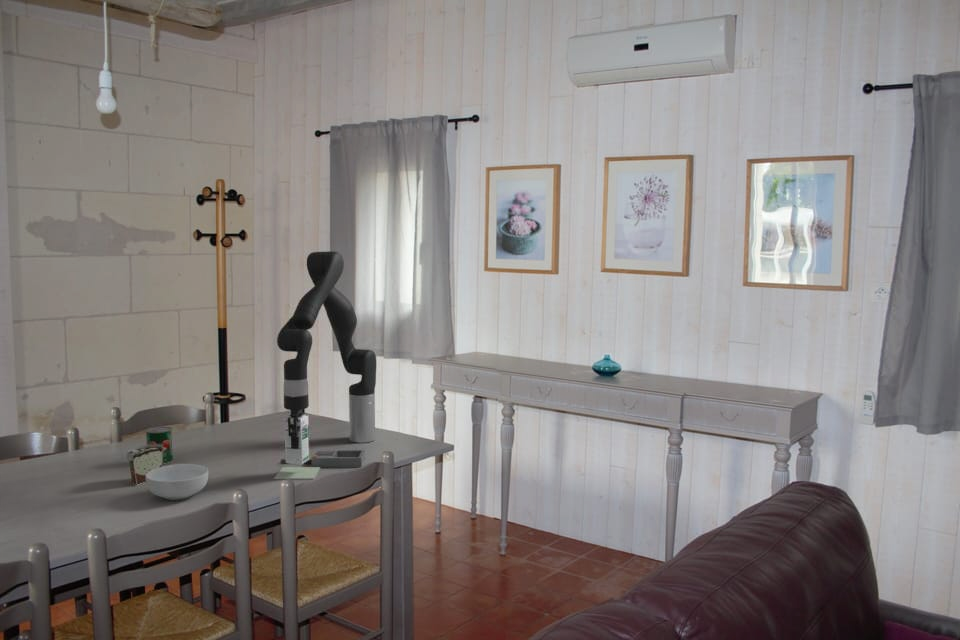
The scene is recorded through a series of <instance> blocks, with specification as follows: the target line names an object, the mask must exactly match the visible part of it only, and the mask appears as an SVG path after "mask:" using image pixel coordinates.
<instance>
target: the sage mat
mask: <svg viewBox="0 0 960 640" xmlns="http://www.w3.org/2000/svg"><path fill="white" fill-rule="evenodd" d="M320 470H321V467H312V466H311V467H310V466H282V467H281V469H280V470H279V471H278V473H277V474H276V475H275V476H274V478H273V480H274V479H281V480H282V479H284V480H286V479H285V478H291V479H290V480H314V479H315V477H316V476H317V474H318V473H319V471H320ZM282 481H283V480H282Z"/></svg>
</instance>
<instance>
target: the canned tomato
mask: <svg viewBox="0 0 960 640" xmlns="http://www.w3.org/2000/svg"><path fill="white" fill-rule="evenodd" d="M172 433H173V432H172V427H170V426H154V427H149V428H147V429H146V430H145V437H146V441H145V442H146V445H163V447H164V450H165V451H163V464H164V463H168V462H171V461H172V460H173V461H174V458H173V456H174V455H173V436H172V435H173V434H172ZM173 461H172V462H173ZM172 462H171V463H172ZM168 464H169V463H168ZM164 465H165V464H164Z"/></svg>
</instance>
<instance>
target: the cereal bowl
mask: <svg viewBox="0 0 960 640" xmlns="http://www.w3.org/2000/svg"><path fill="white" fill-rule="evenodd" d="M145 477H146V483H145V484H146V487H147V489H148V491H149V492H150V493H151V494H153V495H154V496H157V497H161V498H164V499H165V500H168V499H169V500H171V501H174V500H175V501H176V500H177V501H178V500H184V499H188V498H190V497H192V496H193V495H194V494H197V493H199V492H200V491H202V490H203V489H204V488H205V486H206V485H207V483H208V480H209V469H208V467H206V466H204V465H201V464H196V463H195V464H193V463H175V464H167V465H162V467H159V468H156V469H153V470H151V471H149V472H148V473H147V474H146V476H145ZM169 500H168V501H169Z"/></svg>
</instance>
